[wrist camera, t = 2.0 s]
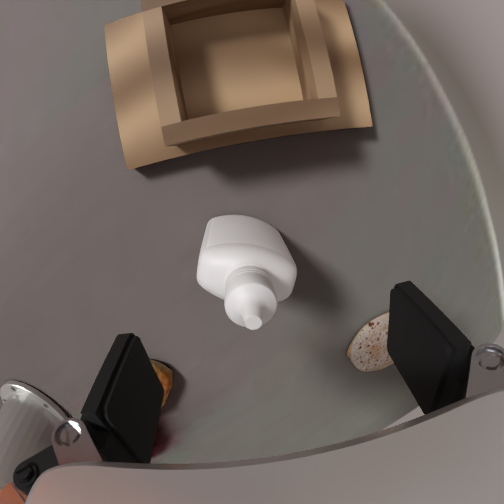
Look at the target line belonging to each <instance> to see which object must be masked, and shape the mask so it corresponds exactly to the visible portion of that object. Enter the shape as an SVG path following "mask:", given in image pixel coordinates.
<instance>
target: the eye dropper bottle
mask: <svg viewBox="0 0 504 504" xmlns="http://www.w3.org/2000/svg"><path fill="white" fill-rule="evenodd" d="M296 276H297V268H296V265H295V262H294V260H293V258H292V256H291V254H290V252H289V250H288V248H287V246H286V244H285V243H284V241H283V239H282V237H281V235H280V233H279V232H278V230H277V229H275V228H274V227H273V226H271V225H269V224H268V223H266V222H264V221H262V220H259V219H256V218H253V217H249V216H244V215H224V216H218V217H214V218H212V219H211V220H209V222H208V224H207V227H206V230H205V234H204V238H203V242H202V246H201V251H200V255H199V261H198V267H197V281H198V283H199V284H200V285H201V286H202V287H203V288H204V289H205V290H207V291H208V292H210V293H212V294H213V295H215V296H217V297H219V298H221V299H223V300H225V310H226V312H227V315H228V317H229V318H230V319H231V320H232V321H233V322H235V323H236V324H238V325H240V326H244V327H247V328H248V329H250V330H256V329H258V328H260V327H261V325H263V324H265V323H267V322H268V321H269V320H270V319H271V318H272V316H274V314H275V312H276V309H277V304H278V303H277V302H279V301H282V300H284V299H286V298H288V297H289V296H290V294H291V293H292V290H293V287H294V284H295V280H296Z"/></svg>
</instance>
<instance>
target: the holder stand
mask: <svg viewBox="0 0 504 504" xmlns="http://www.w3.org/2000/svg"><path fill="white" fill-rule="evenodd" d="M141 5H142V12H140V13H137V14H134V15H131V16H128V17H125V18H122V19H120V20H117V21H114V22H112V23H109V24H106V25H104V28H105V39H106V48H107V57H108V65H109V72H110V80H111V86H112V93H113V99H114V105H115V111H116V116H117V122H118V127H119V132H120V137H121V142H122V147H123V152H124V157H125V161H126V166H127V170H130V169H134V168H137V167H141V166H145V165H148V164H152V163H156V162H159V161H163V160H167V159H171V158H175V157H179V156H183V155H188V154H192V153H196V152H201V151H205V150H210V149H215V148H219V147H224V146H229V145H234V144H240V143H245V142H251V141H256V140H262V139H268V138H274V137H281V136H288V135H295V134H302V133H310V132H318V131H327V130H336V129H347V128H358V127H372V126H373V125H372V119H371V113H370V107H369V101H368V96H367V90H366V85H365V80H364V75H363V71H362V66H361V62H360V57H359V53H358V49H357V45H356V41H355V37H354V33H353V30H352V26H351V22H350V19H349V15H348V12H347V9H346V5H345V2H344V0H141Z"/></svg>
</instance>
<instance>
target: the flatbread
mask: <svg viewBox="0 0 504 504" xmlns="http://www.w3.org/2000/svg"><path fill="white" fill-rule="evenodd" d="M388 324H389V312H388V313H385V314H382V315H380V316H378V317H376V318H374V319H373V320H371V321H370V322H368V323H367V324H366V325H365V326H364V327H363V328H361V330H360V331H359V332H358V333H357V334H356V336H355V337H354V339H353V341H352V342H351V344H350V346H349V348H348V350H347V355H348V357H349V358H350V360H351V362H352V363H353V365H354V366H355V367H356V368H357V369H358V370H360V371H364V372H365V371H366V372H367V371H377V370H381V369H384V368H386V367H387V366H390V365H391V364H393V363H394V362H393V360H392V359H391V357H390V356H389V354H388V351H387V336H388Z"/></svg>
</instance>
